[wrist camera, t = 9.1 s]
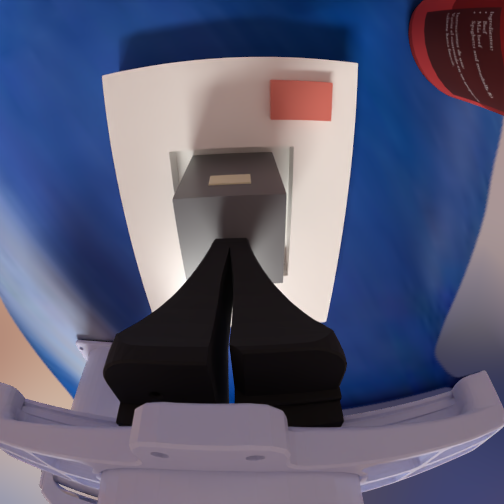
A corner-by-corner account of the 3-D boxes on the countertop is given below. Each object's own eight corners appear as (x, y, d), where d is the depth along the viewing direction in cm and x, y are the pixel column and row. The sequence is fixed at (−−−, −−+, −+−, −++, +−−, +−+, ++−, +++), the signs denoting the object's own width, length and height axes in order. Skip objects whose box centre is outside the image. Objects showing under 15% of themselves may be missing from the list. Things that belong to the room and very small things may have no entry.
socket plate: (319, 299, 25) (327, 327, 22) (162, 305, 25) (155, 333, 22) (342, 62, 15) (362, 63, 12) (119, 73, 14) (97, 76, 12)
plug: (271, 247, 21) (281, 312, 16) (203, 250, 20) (193, 315, 16) (272, 150, 17) (286, 192, 12) (192, 154, 17) (172, 197, 12)
